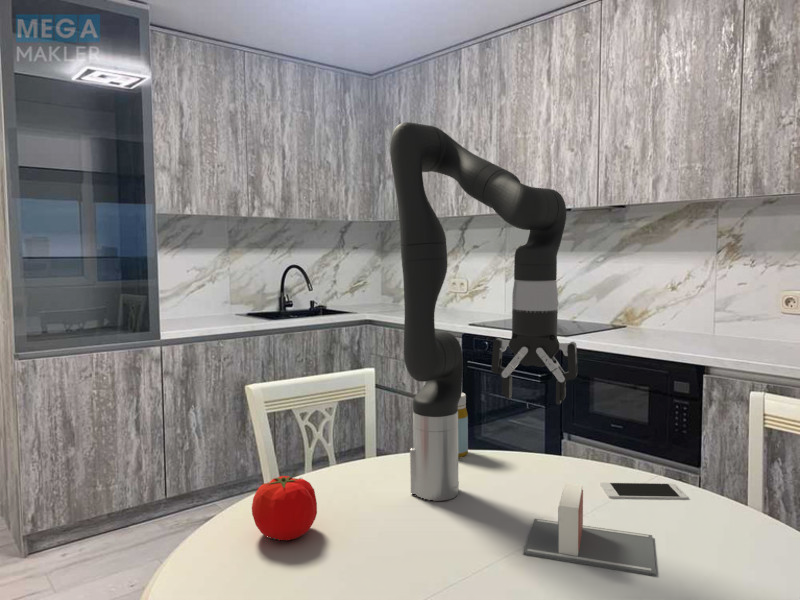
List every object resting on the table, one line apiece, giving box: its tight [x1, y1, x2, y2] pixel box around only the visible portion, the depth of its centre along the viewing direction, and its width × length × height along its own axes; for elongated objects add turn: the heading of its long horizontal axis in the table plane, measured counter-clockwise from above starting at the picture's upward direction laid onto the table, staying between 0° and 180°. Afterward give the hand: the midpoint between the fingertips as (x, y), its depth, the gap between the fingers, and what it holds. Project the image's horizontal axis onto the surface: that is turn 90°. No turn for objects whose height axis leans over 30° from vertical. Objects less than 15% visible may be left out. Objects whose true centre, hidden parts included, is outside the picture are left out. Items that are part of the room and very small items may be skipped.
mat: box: [522, 518, 657, 577], centre depth 100 cm, size 20×13×1 cm, turn 69°
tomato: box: [251, 475, 318, 541], centre depth 105 cm, size 12×12×10 cm
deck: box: [557, 482, 584, 556], centre depth 100 cm, size 3×10×8 cm, turn 159°
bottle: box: [458, 392, 469, 459], centre depth 146 cm, size 7×7×15 cm
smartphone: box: [600, 482, 689, 500], centre depth 122 cm, size 7×15×1 cm, turn 86°
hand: (533, 400), depth 102 cm, fingers open, 8 cm apart
